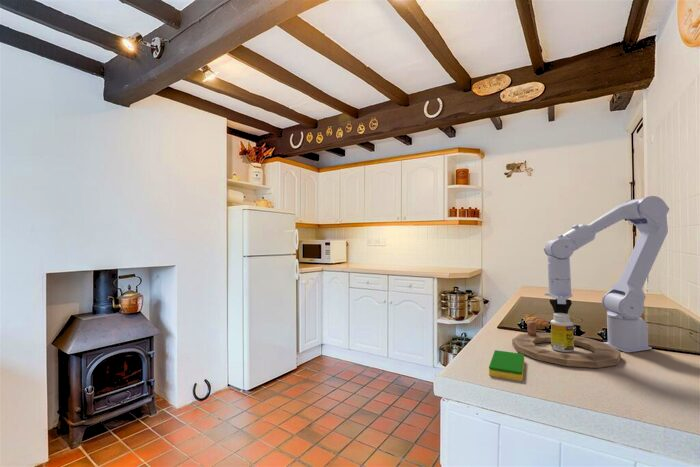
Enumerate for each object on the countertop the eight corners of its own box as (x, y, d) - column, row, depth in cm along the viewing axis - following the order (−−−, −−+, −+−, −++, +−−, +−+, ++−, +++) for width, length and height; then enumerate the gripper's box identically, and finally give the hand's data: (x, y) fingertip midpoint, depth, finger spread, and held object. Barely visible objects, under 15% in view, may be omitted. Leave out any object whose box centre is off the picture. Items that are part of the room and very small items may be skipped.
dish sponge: (524, 362, 88) (524, 353, 88) (522, 383, 76) (522, 372, 76) (495, 358, 92) (494, 349, 92) (488, 377, 79) (488, 367, 79)
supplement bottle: (568, 354, 92) (567, 317, 93) (547, 349, 97) (546, 313, 97) (577, 350, 96) (576, 314, 96) (556, 345, 100) (555, 311, 100)
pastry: (556, 330, 117) (556, 319, 117) (543, 332, 115) (542, 321, 115) (533, 323, 126) (532, 313, 126) (520, 326, 124) (519, 315, 124)
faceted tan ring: (559, 334, 110) (558, 317, 110) (644, 360, 86) (643, 338, 86) (495, 342, 103) (494, 324, 104) (568, 372, 79) (567, 349, 79)
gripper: (543, 275, 109) (545, 317, 109) (544, 281, 96) (546, 328, 96) (569, 276, 105) (571, 319, 105) (573, 282, 93) (575, 331, 93)
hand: (561, 324), depth 100 cm, fingers closed
